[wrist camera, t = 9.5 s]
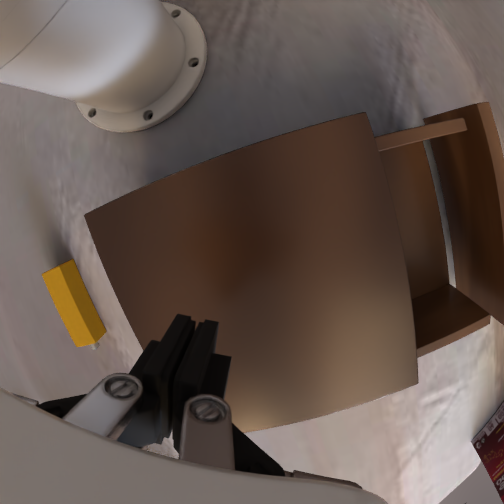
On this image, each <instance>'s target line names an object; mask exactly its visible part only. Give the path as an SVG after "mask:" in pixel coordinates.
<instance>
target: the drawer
mask: <svg viewBox="0 0 504 504" xmlns="http://www.w3.org/2000/svg"><path fill="white" fill-rule="evenodd" d="M423 120H424V123H425V125H424V126H419V127H415V128H410V129H406V130H402V131H397V132H393V133H389V134H385V135H381V136H377V137H375V141H376V144H377V147H378V150H379V153H380V156H381V160H382V163H383V167H384V170H385V174H386V177H387V181H388V184H389V188H390V192H391V196H392V200H393V204H394V208H395V212H396V217H397V221H398V226H399V230H400V235H401V240H402V245H403V250H404V255H405V261H406V267H407V273H408V279H409V285H410V292H411V300H412V308H413V316H414V325H415V336H416V348H417V358H418V357H421V356H423V355H426V354H428V353H430V352H432V351H435V350H437V349H439V348H441V347H444V346H446V345H448V344H450V343H452V342H454V341H456V340H459V339H461V338H463V337H465V336H467V335H469V334H471V333H473V332H475V331H477V330H478V329H480V328H482V327H484V326H486V325H488V324H490V315H491V316H493V317H494V318H495V319H496V320H498V321H499V322H500V323H501V324H503V325H504V157H503V153H502V148H501V144H500V140H499V136H498V132H497V128H496V125H495V121H494V118H493V114H492V111H491V108H490V105H489V102H483V103H476V104H472V105H469V106H465V107H461V108H458V109H454V110H451V111H447V112H444V113H441V114H437V115H434V116H431V117H427V118H424V119H423ZM427 139H430V143H431V146H432V150H433V154H434V157H435V161H436V165H437V169H438V173H439V177H440V182H441V186H442V191H443V196H444V200H445V206H446V211H447V217H448V222H449V229H450V235H451V242H452V250H453V258H454V268H455V279H456V288H455V287H453V286H452V285H451V284H449V274H448V264H447V256H446V248H445V241H444V235H443V228H442V223H441V217H440V212H439V206H438V201H437V197H436V192H435V187H434V183H433V179H432V175H431V171H430V167H429V163H428V159H427V155H426V152H425V148H424V145H423V140H427Z"/></svg>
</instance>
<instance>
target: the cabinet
mask: <svg viewBox="0 0 504 504" xmlns="http://www.w3.org/2000/svg"><path fill="white" fill-rule="evenodd" d="M84 217H85V219H86V222H87V225H88V228H89V231H90V233H91V236H92V239H93V241H94V244H95V246H96V249H97V252H98V254H99V257H100V259H101V262H102V264H103V266H104V269H105V271H106V273H107V276H108V278H109V280H110V283H111V285H112V287H113V290H114V292H115V294H116V296H117V298H118V301H119V303H120V305H121V307H122V309H123V311H124V313H125V315H126V317H127V319H128V321H129V324H130V326H131V328H132V330H133V331H134V333H135V335H136V337H137V339H138V341H139V343H140V345H141V347H142V349H143V351H144V350H145V348H146V347H147V345H148V344H149V342H150V341H151V340H156V341H161V339H162V338H163V336H164V334H165V333H166V331H167V329H168V328H169V326H170V325H171V323H172V321H173V320H174V318H175V317H176V315H177V314H182V315H187V316H191V320H194V321H196V326H195V330H196V328H197V326H198V323H199V322H204V321H205V319H207V320H212V321H217V322H219V327H218V335H217V342H216V350H215V353H216V354H221V355H226V356H232V359H231V365H230V371H229V377H228V383H227V388H226V393H225V398H224V400H225V401H226V402H227V403H228V404H229V406H230V408H231V414H232V423H233V424H234V425H235V426H236V427H237V428H238V429H239V430H240V431H242V432H243V433H246V432H252V431H257V430H263V429H268V428H273V427H278V426H283V425H288V424H292V423H297V422H301V421H305V420H309V419H313V418H317V417H321V416H325V415H328V414H332V413H335V412H339V411H342V410H346V409H349V408H352V407H355V406H359V405H362V404H365V403H368V402H371V401H374V400H376V399H379V398H382V397H385V396H388V395H390V394H393V393H396V392H398V391H401V390H403V389H406V388H409V387H411V386H413V385H416V384H418V363H417V348H416V336H415V325H414V316H413V308H412V300H411V292H410V285H409V279H408V273H407V267H406V261H405V255H404V250H403V245H402V240H401V235H400V230H399V226H398V221H397V217H396V212H395V208H394V204H393V200H392V196H391V192H390V188H389V184H388V181H387V177H386V174H385V170H384V167H383V163H382V160H381V156H380V153H379V150H378V147H377V144H376V141H375V137H374V134H373V131H372V129H371V126H370V123H369V120H368V117H367V114H366V112H362V113H358V114H354V115H350V116H346V117H342V118H338V119H334V120H330V121H327V122H323V123H319V124H316V125H312V126H309V127H305V128H302V129H298V130H295V131H292V132H289V133H285V134H282V135H279V136H276V137H272V138H269V139H266V140H263V141H260V142H257V143H254V144H251V145H248V146H245V147H242V148H240V149H237V150H234V151H231V152H228V153H226V154H223V155H220V156H217V157H215V158H212V159H209V160H207V161H204V162H201V163H199V164H196V165H194V166H191V167H189V168H186V169H184V170H181V171H179V172H176V173H174V174H171V175H169V176H167V177H164V178H162V179H160V180H157V181H155V182H153V183H150V184H148V185H146V186H143V187H141V188H139V189H137V190H134V191H132V192H130V193H128V194H126V195H124V196H121V197H119V198H117V199H115V200H113V201H111V202H109V203H107V204H105V205H103V206H100V207H98V208H96V209H94V210H92V211H90V212H88V213H86V214H85V215H84Z"/></svg>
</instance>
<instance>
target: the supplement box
mask: <svg viewBox="0 0 504 504" xmlns="http://www.w3.org/2000/svg"><path fill="white" fill-rule="evenodd" d="M471 443H472V444H473V446H474V448H475V450H476V452H477V453H478V455H479V457H480V459H481V461H482V462H483V464H484V466H485V468H486V470H487V472H488V474H489V476H490V478H491V479H492V481H493V483H494V485H495V487H496V489H497V491H498V493H499V496H500V498H501V500H502V502H503V504H504V402H503V403H502V405H501V406H500V408H499V409H498V410H497V412H496V413H495V414H494V416H493V417H492V418H491V419H490V421H489V422H488V423H487V424H486V425H485V427H484V428H483V429H482V430H481V431H480V432H479V433H478V435H477V436H476V437H475V438H474V439H473V440H472V441H471Z"/></svg>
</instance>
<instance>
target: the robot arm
mask: <svg viewBox="0 0 504 504" xmlns="http://www.w3.org/2000/svg"><path fill="white" fill-rule="evenodd" d="M206 61H207V42H206V39H205V35H204V32H203V30H202V28H201V26H200V24H199V23H198V22H197V20H196V19H195V17H194V16H193V15H192V14H190V13H189V12H188V11H187V10H185V9H184V8H182V7H179V6H177V5H175V4H171V3H167V2H160V0H0V83H4V84H8V85H13V86H17V87H22V88H26V89H30V90H34V91H38V92H42V93H46V94H50V95H54V96H58V97H61V98H65V99H69V100H72V101H75V102H76V105H77V107H78V109H79V110H80V112H81V113H82V115H83V116H84V117H85V118H86V119H87V120H88V121H89V122H90V123H92V124H94V125H95V126H97V127H99V128H102V129H105V130H109V131H114V132H120V133H121V132H135V131H140V130H144V129H147V128H149V127H152V126H154V125H157V124H159V123H160V122H162V121H164V120H165V119H167V118H169V117H170V116H171V115H173V114H174V113H175V112H176V111H177V110H178V109H180V108H181V107H182V106H183V105H184V104H185V102H186V101H187V100H188V99H189V98H190V97H191V96H192V94H193V92H194V91H195V89H196V88H197V86H198V84H199V83H200V80H201V78H202V75H203V73H204V70H205V66H206ZM196 63H198V65H197V66H196V67H193V65H194V64H196ZM151 114H153V117H152V119H150V115H151ZM195 326H196V321H194V320H191V316H187V315H182V314H177V315H176V317H175V318H174V320H173V321H172V323H171V325H170V326H169V328H168V329H167V331H166V333H165V334H164V336H163V338H162V339H161V341H156V340H151V341H150V342H149V344H148V345H147V347H146V348H145V350H144V351H143V353H142V354H141V356H140V357H139V359H138V360H137V362H136V363H135V365H134V366H133V368H132V370H131V371H130V373H129V374H126V373H114V374H111V375H108V376H106V377H105V378H104V379H102V380H101V381H100V382H99V383H98V384H97V385H96V386H95V387H94V388H93V389H92V390H91V391H90V392H89V393H88V394H84V395H79V396H74V397H69V398H63V399H58V400H52V401H47V402H44V403H42V404H39V402H38V401H36V400H33V399H29V398H26V397H23V396H19V395H16V394H13V393H10V392H8V391H6V390H5V389H3V388H1V387H0V504H388V503H387V502H386V501H385V500H384V499H382V498H381V497H379V496H378V495H376V494H373V493H371V492H369V491H366V490H363V489H362V487H361V486H359V485H358V484H356V483H354V482H351V481H347V480H341V479H335V478H329V477H324V476H319V475H314V474H310V473H305V472H301V471H297V470H294V471H293V473H292V472H288V471H284V470H283V468H282V467H281V466H280V465H279V464H278V463H277V462H276V461H275V460H273V459H272V458H271V457H270V456H269V455H267V454H266V453H265V452H264V451H263V450H262V449H260V448H259V447H258V446H257V445H256V444H255V443H254V442H253V441H251V440H250V439H249V438H248V437H247V436H246V435H245V434H244V433H243V432H242V431H240V430H239V429H238V428H237V427H236V426H235V425H234V424H233V423H232V414H231V408H230V406H229V404H228V403H227V402H226V401H225V400H224V398H225V393H226V388H227V383H228V377H229V371H230V365H231V359H232V356H226V355H221V354H216V353H215V350H216V342H217V335H218V327H219V322H217V321H212V320H207V319H205V321H204V322H199V323H198V326H197V328H196V330H195ZM171 431H172V432H173V440H174V448H175V450H176V451H177V452H178V453H179V459H175V458H171V457H167V456H164V455H160V454H156V453H153V452H149V451H147V449H148V445H150V444H153V443H157V444H162V441H163V438H164V437H166V438H169V437H170V434H171Z"/></svg>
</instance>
